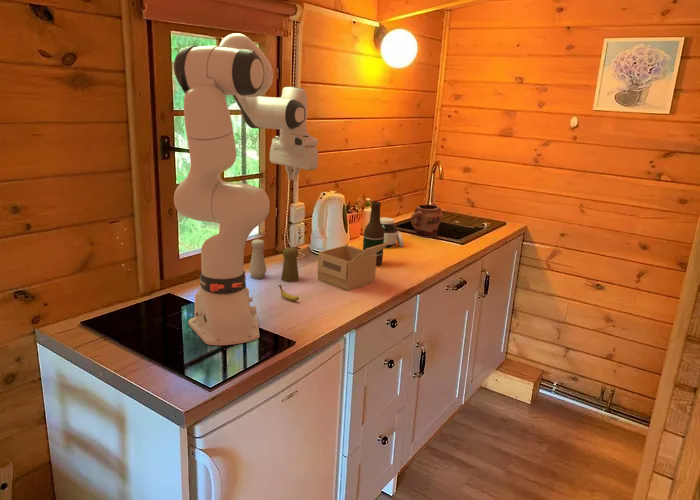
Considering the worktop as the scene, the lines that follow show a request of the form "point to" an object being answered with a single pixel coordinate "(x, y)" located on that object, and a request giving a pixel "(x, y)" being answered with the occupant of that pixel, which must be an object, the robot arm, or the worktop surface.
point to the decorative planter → (426, 220)
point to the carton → (346, 267)
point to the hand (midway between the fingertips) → (292, 179)
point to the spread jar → (391, 232)
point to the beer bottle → (374, 232)
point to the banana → (287, 296)
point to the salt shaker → (257, 260)
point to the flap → (370, 251)
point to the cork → (290, 265)
